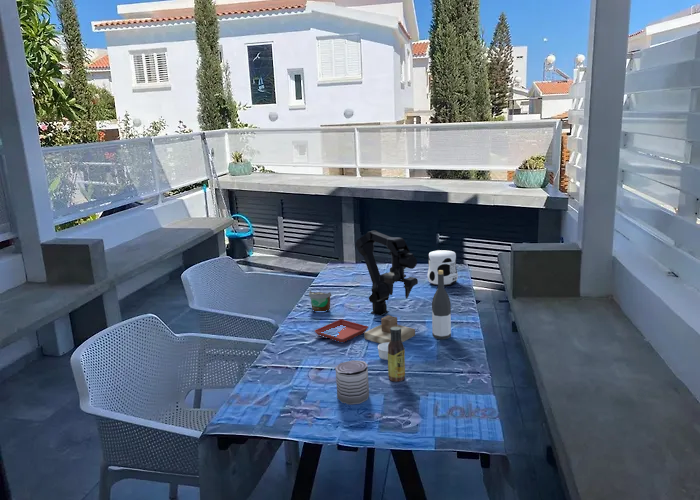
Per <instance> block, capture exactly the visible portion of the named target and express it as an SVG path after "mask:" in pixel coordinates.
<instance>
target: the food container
mask: <svg viewBox="0 0 700 500" xmlns="http://www.w3.org/2000/svg"><path fill="white" fill-rule="evenodd" d="M331 297H332V293H331V291H329V292H321V291H319V292H317V291H316V292H315V291H314V292H312V290H309V293H308V298H310V299H309V300H310V304H311V309H312V310H311V311H313V310H314V311H326V310H329V309H330V310H331Z"/></svg>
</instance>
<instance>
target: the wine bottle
mask: <svg viewBox="0 0 700 500" xmlns="http://www.w3.org/2000/svg"><path fill="white" fill-rule="evenodd" d="M451 304H452V303H451V299H450V297H449V294H448V293H447V291H446V289H445V286H444V274H443V270H439V271H438V285H437V289H436V291H435V292H434V294H433V297H432V300H431V323H432V324H431V325H432V327H431V329H432V337H433V338H434V339H437V340H448V339H450V338H451V336H452V319H451V318H452V317H451V316H452V312H451V311H452V308H451V307H452V305H451Z"/></svg>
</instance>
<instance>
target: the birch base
mask: <svg viewBox="0 0 700 500" xmlns="http://www.w3.org/2000/svg"><path fill="white" fill-rule="evenodd" d="M397 327H400V328H401V340H402V343H404V342H406V341H408V340H410V339H411V338H413V337H415V336H416V328H413V327H410V326H409V327H408V326H405V325H401V324H397ZM363 334H364V337H363V338H364V339H365V340H368V341H371V342H373V343H378V344H382V343H387V342H390V341H391V334H390V333H386V332H382V326H381V324H379V325H377V326H374V327H373V328H370V329H367V330H366V331H365V332H364V333H363Z"/></svg>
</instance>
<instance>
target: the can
mask: <svg viewBox="0 0 700 500" xmlns="http://www.w3.org/2000/svg"><path fill="white" fill-rule="evenodd" d="M334 369H335V382H336V397H337V399H339V400H340V401H341V402H342V403H341V402H340V401H339V402H340V403H341V404H345V403H346V405H360V404H362V403H364V402H366V401H368V399H369V396H370V388H369V385H370V384H369V364H368V363H367V362H366V361H364V360H354V359H353V360H348V361H344V362H340V363H339V364H337V365H336V366H335V367H334Z"/></svg>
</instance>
